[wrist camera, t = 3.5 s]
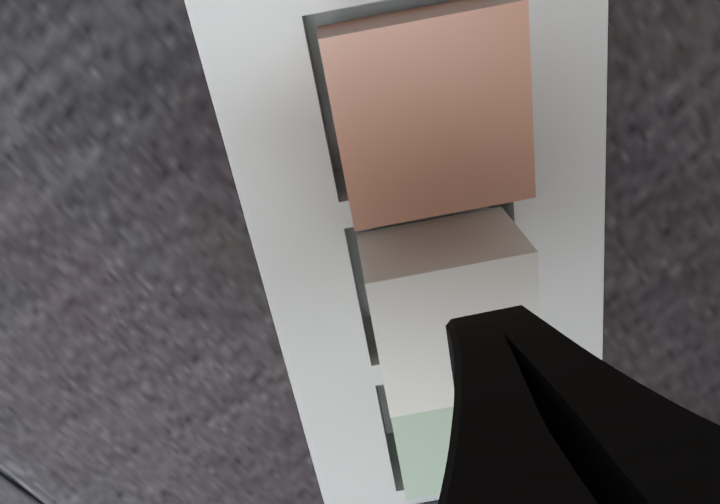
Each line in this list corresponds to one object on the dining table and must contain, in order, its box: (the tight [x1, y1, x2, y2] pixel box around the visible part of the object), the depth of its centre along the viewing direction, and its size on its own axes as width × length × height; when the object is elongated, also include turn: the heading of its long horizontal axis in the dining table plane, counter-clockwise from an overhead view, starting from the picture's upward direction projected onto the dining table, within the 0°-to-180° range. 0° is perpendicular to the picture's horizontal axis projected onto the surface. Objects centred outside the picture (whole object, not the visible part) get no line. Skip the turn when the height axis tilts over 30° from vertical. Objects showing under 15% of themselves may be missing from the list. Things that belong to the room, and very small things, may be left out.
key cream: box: [356, 207, 541, 418], centre depth 16 cm, size 4×4×3 cm
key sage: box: [391, 406, 454, 500], centre depth 21 cm, size 4×4×3 cm
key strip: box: [184, 0, 608, 504], centre depth 20 cm, size 10×24×3 cm, turn 10°
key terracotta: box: [317, 0, 536, 231], centre depth 14 cm, size 4×4×3 cm
